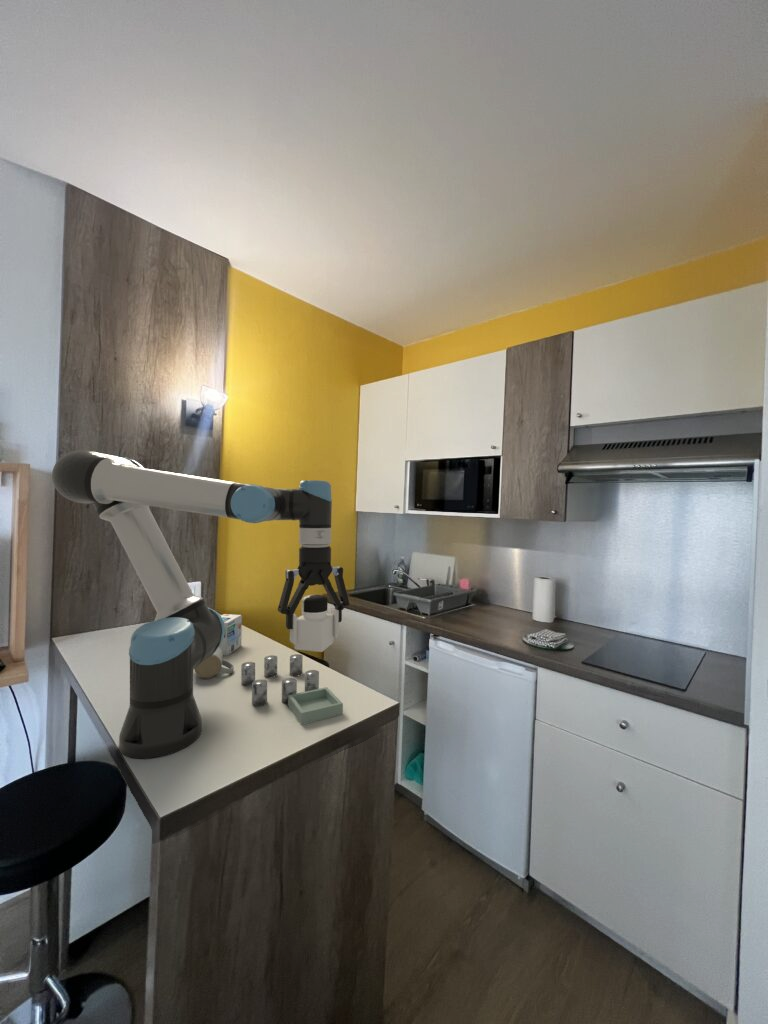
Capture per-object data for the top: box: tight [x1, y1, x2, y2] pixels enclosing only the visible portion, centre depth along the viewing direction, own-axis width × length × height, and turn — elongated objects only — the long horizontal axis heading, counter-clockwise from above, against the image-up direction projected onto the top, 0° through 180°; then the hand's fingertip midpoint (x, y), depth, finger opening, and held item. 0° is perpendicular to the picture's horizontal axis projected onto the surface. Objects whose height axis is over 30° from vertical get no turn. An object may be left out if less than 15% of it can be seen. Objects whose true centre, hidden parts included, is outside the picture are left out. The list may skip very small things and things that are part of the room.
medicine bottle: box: [293, 594, 334, 653], centre depth 100 cm, size 7×7×12 cm
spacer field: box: [240, 653, 320, 707], centre depth 112 cm, size 17×22×5 cm
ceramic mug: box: [193, 647, 235, 679], centre depth 121 cm, size 11×8×8 cm
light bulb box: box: [219, 613, 243, 656], centre depth 141 cm, size 11×7×11 cm, turn 173°
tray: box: [287, 687, 344, 726], centre depth 100 cm, size 10×10×3 cm
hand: (314, 639), depth 100 cm, fingers closed on medicine bottle, 10 cm apart
